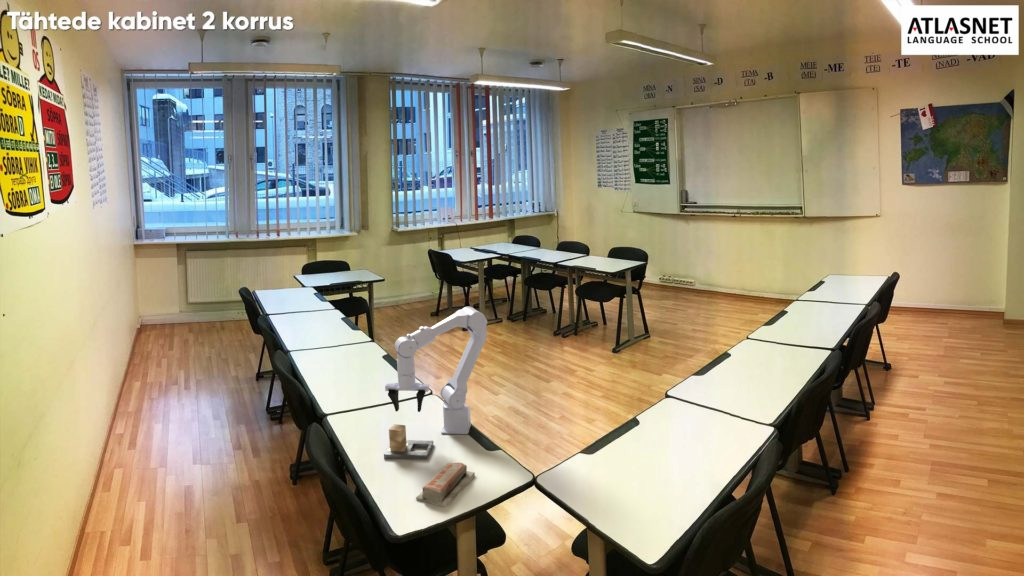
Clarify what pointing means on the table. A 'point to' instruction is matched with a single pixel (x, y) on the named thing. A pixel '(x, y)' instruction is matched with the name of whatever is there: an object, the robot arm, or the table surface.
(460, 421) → the robot arm
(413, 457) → the plate
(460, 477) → the packaged product
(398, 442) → the peg
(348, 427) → the table surface
